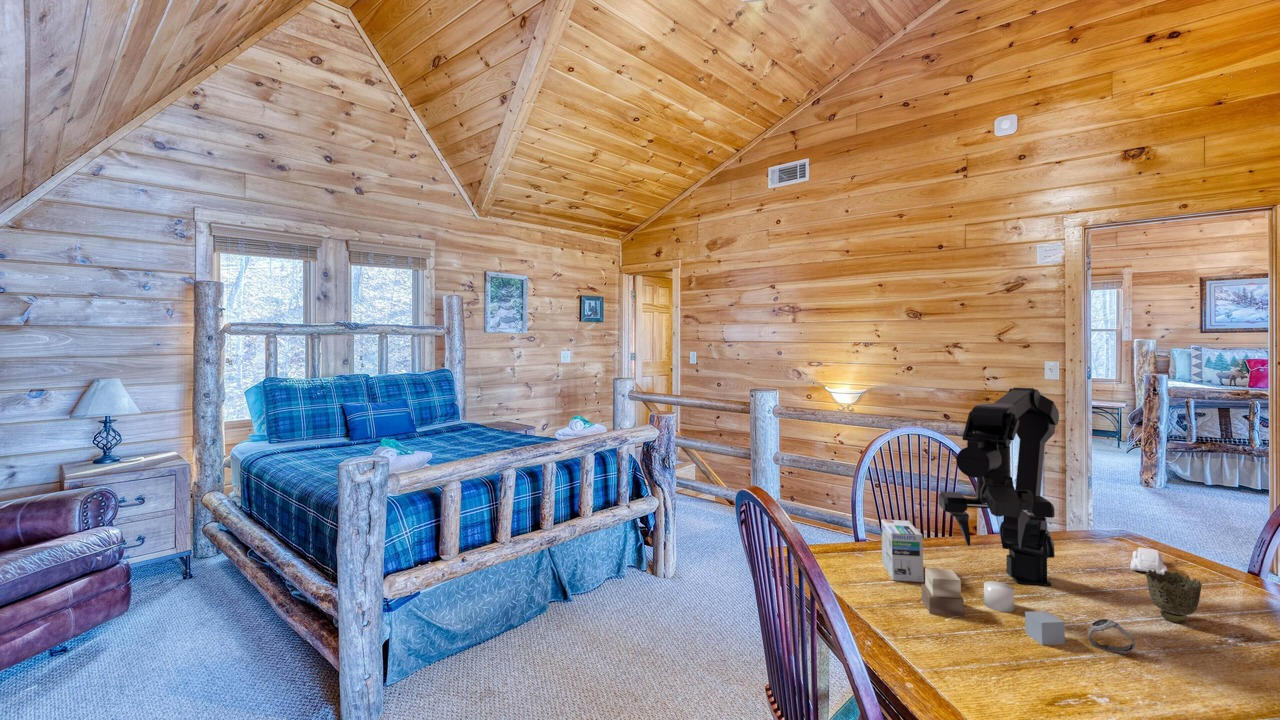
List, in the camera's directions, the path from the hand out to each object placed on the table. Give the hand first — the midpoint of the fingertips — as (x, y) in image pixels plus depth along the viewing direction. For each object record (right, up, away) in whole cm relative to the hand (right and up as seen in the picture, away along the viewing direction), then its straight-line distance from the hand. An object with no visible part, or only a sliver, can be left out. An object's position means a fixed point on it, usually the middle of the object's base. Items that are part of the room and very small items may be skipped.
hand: (994, 546), depth 109 cm
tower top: (-10, -9, 0) cm, 14 cm away
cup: (+29, -12, -7) cm, 32 cm away
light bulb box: (-10, -12, +18) cm, 24 cm away
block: (+1, -12, -12) cm, 17 cm away
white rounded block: (+46, -11, +17) cm, 51 cm away
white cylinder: (+1, -12, 0) cm, 12 cm away
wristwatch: (+9, -12, -16) cm, 22 cm away
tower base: (-10, -13, 0) cm, 16 cm away
